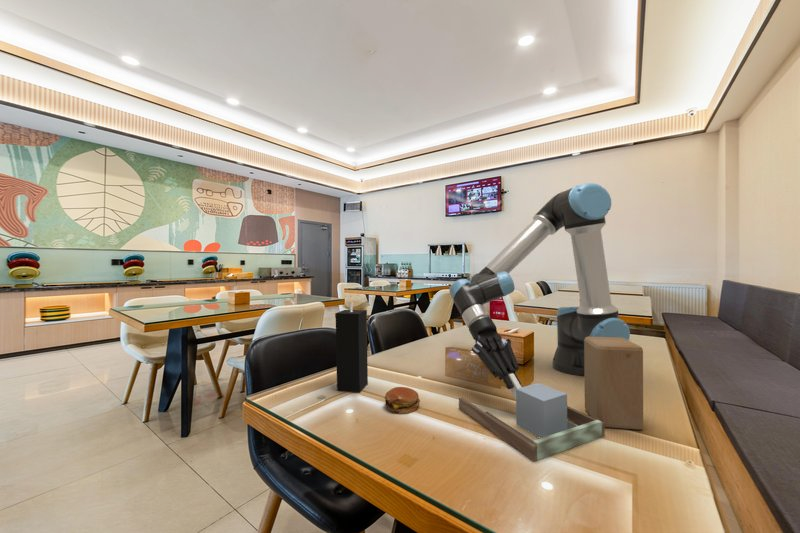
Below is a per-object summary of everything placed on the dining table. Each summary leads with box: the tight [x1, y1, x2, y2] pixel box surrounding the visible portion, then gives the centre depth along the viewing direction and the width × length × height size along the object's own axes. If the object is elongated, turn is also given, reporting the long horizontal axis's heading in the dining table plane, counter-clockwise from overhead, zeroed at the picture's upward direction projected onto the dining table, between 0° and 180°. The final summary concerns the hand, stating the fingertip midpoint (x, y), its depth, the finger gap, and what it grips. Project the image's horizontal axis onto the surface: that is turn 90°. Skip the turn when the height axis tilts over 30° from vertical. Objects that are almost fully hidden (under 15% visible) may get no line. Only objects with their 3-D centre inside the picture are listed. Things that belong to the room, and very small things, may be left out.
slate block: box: [515, 382, 568, 439], centre depth 78 cm, size 8×8×9 cm
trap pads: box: [485, 411, 578, 443], centre depth 81 cm, size 18×16×1 cm
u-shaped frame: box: [458, 384, 606, 462], centre depth 81 cm, size 22×26×4 cm
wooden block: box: [583, 337, 644, 431], centre depth 81 cm, size 10×10×20 cm
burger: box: [384, 386, 421, 415], centre depth 91 cm, size 10×9×5 cm
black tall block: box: [334, 301, 369, 393], centre depth 105 cm, size 8×8×28 cm
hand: (521, 399), depth 82 cm, fingers closed
